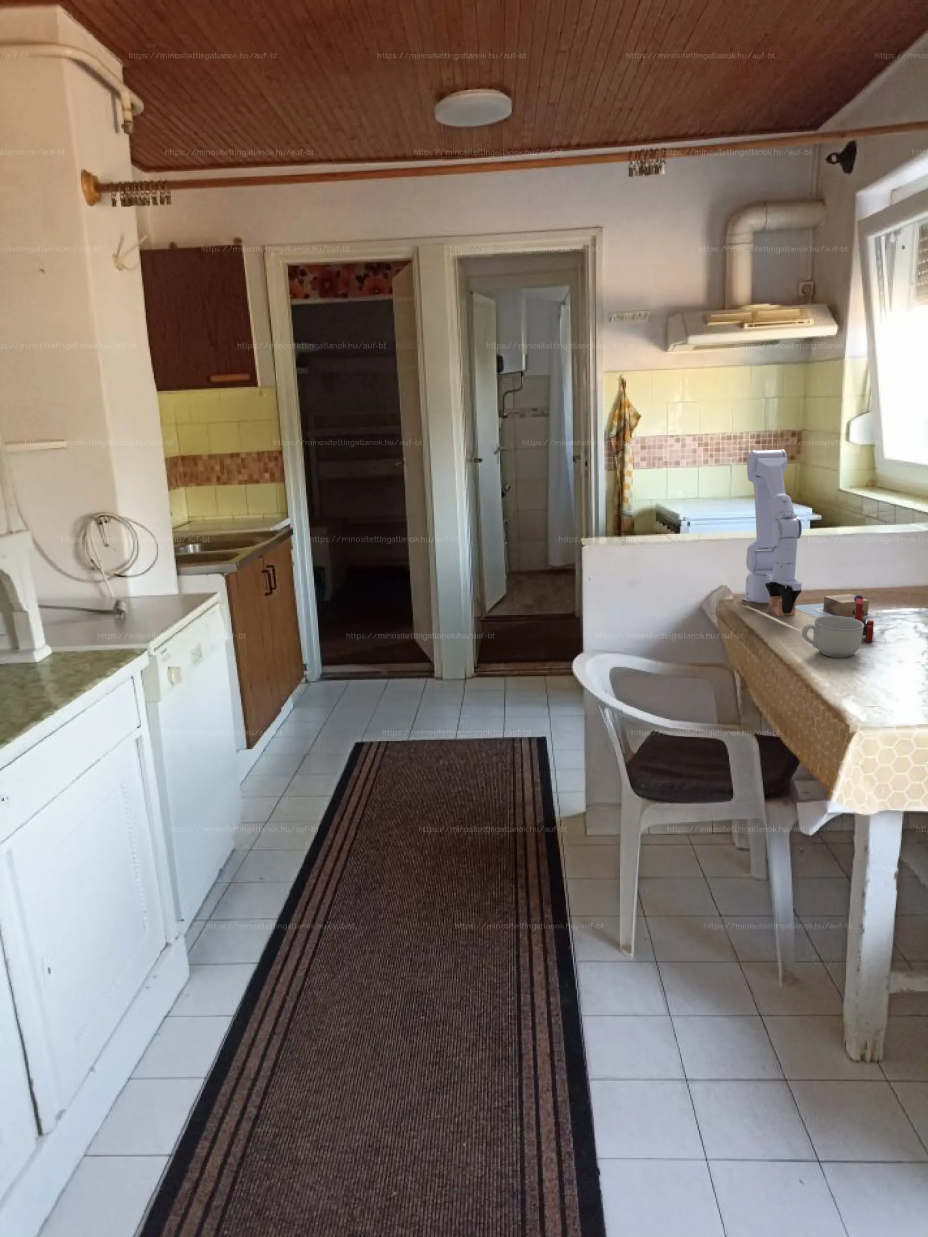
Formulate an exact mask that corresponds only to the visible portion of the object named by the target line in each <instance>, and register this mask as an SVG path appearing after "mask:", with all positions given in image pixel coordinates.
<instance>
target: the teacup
mask: <svg viewBox="0 0 928 1237" xmlns="http://www.w3.org/2000/svg"><path fill="white" fill-rule="evenodd" d="M863 628H864V624H863V623H862V622H861V621H859V620H856V619H853V618H849V617H843V616H821V617H817V618H816V617H815V618H814V624H813V623H809V624H806V625H804V626H803V628H802V630H801V636H802V638H803V640H805V641H806V642H807V643H809V644H811V645H812V647H813V648H815V649H817V650H818V651H819V652H820V654H822V655H824V656H827V657H831V658H842V659H843V658H848V657H850V656H852V655H853V654H855V653H857V652H858V651H859V650H860V648H861V646H862V641H863V640H862V639H863ZM810 629H813V636H812V638H810V637H809V636H808V632H809V630H810Z"/></svg>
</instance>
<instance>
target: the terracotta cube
mask: <svg viewBox="0 0 928 1237" xmlns="http://www.w3.org/2000/svg"><path fill="white" fill-rule="evenodd" d="M796 601H797V600H796ZM796 601H795V603H794V606H793V609H792V612H791V613H785V614H784V613H783V610H782V598H781V596H773V597H769V603H768V612H769V613H771V614H773V615H775V616H778V617H779V616H790V615H792V616H793V615H795V614H796V609H795V606H796V603H797V602H796ZM775 618H776V617H775ZM776 619H777V618H776Z"/></svg>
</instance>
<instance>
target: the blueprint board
mask: <svg viewBox="0 0 928 1237" xmlns="http://www.w3.org/2000/svg"><path fill="white" fill-rule="evenodd" d="M823 608H824V602H821V603H810V604H799V605H795V610H798V611H800V612H802V613H804V614H807V615H809V616H812V617H813V618H815V619H816V618H817V617H821V616H836V615H834V614H831V613H829V612H826V611H824V610H823ZM849 618H853V616H849ZM863 618H864V619H866V620H867V619H875V618H881V615H877V614H875V613H872V612H869V611H868V615H865V616H864V617H863Z"/></svg>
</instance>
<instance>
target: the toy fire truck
mask: <svg viewBox="0 0 928 1237" xmlns="http://www.w3.org/2000/svg"><path fill="white" fill-rule="evenodd" d="M863 599H864V597H863V596H862V595H859V594H857V595H855V598H854V601H855V602H856V604H855V609H854V610H853V611H852V616H853V619H856V620H859V621H861V622H862V623H863V624H864V628H863V635H862V637H863V636H864V637H865V638H864V639H865V643H873V639H874V626H875V625H874V624H875V622H874V620H867V618H866V619H864V618H863V617H864V616H865V611H864V610H863Z"/></svg>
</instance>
